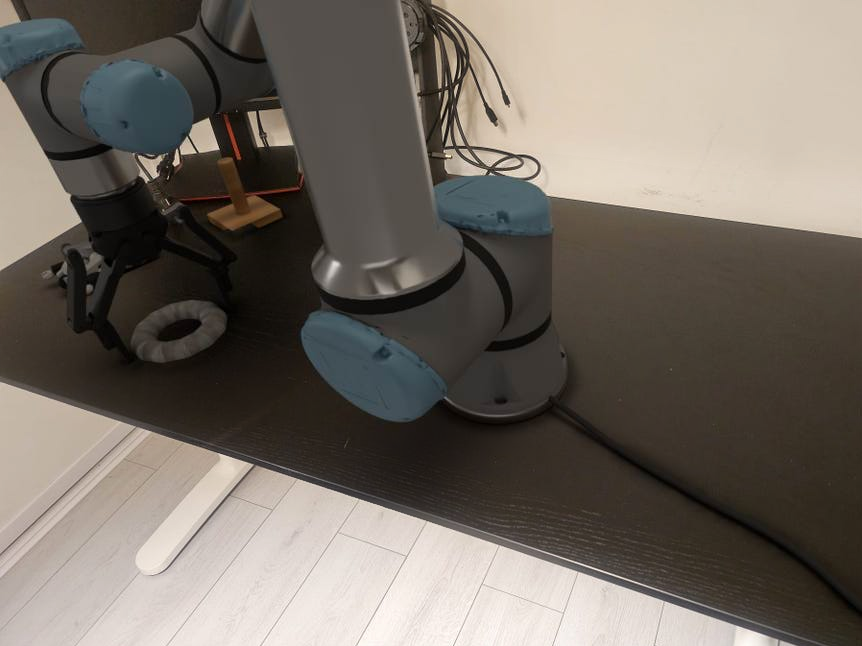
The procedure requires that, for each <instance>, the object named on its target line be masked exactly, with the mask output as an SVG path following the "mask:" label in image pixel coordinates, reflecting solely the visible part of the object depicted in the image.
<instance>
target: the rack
mask: <svg viewBox="0 0 862 646" xmlns="http://www.w3.org/2000/svg"><path fill="white" fill-rule="evenodd" d="M216 162H217V165H218V168H219V171H220V174H221V176H222V179H223V181H224V184H225V187H226V190H227V192H228V195H229V198H230V201H231V203H230V204H228V205H226V206H223V207H221V208H219V209H216V210H214V211H212V212H211V211H210V212H209V213H207V214H206V216H207V218H208V221H209V223H211V224H213V225H214V226H216V227H217V228H219V229H220V230H222V231H225V230H230V231H236V229H239V228H242V227H244V226H246V225H248V224H252V225H253V226H255V227H256V228H257V229H258V228H259V229H260V228H262V227H264V226H266V225H268V224H271V223H273V222H275V221H277V220H280V219H282V218H283V213H282V211H281V208H279V207H277V206H276V205H274V204H272V203H270V202H268V201H266V200H265V199H263V198H261V197H259V196H257V195H256V194H252V195H250V196H246V193H245V190H244V187H243V184H242V181H241V179H240V176H239V173H238V169H237V167H236V164H235V162H234V158H233V157H229V156H227V157H226V156H225V157H223V158H222V157H221V158H220V159H218V160H217V161H216Z"/></svg>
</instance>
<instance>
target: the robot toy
mask: <svg viewBox="0 0 862 646" xmlns="http://www.w3.org/2000/svg"><path fill="white" fill-rule="evenodd" d="M102 258H103V256H101V255H99V254H97V253H96V252H93V253H92V254H91V255H90V261H89V263H88V264H86V265H85V267H86V271H87V295H90V294H91V293H92V292H94V289H95V286H96V283H97V280H98V277H99V274H100V270H101V261H102ZM147 261H148V260H145V261H143V262H142V263H141V264H139V265H138V266H141V265H143V264H145V263H146V262H147ZM130 268H133V267H132V266H126V268H125V270H126V269H130ZM54 277H56V278H57V279H58V280H57V283H58V285H59V287H60V288H61V289H63V290H66V291H67V263H66V260H63V261H60V262H57V263H55V264H52V265H50V270H49V269H48V270H44V271H43V272H42V273H41V278H42V279H43V280H44V281H49V280H52V279H53V278H54Z"/></svg>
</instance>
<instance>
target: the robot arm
mask: <svg viewBox="0 0 862 646" xmlns="http://www.w3.org/2000/svg"><path fill="white" fill-rule="evenodd" d="M87 49H88V47H87V46H86V44H85V43H84V42H83V40H82V39H81V36H80V35H79V34H78V32H77V30H76V28H75V26H73V25H72V24H71V23H70V22H69V21H68V20H65V19H62V18H56V17H51V18H49V17H48V18H47V17H46V18H37V19H29V20H24V21H18V22H15V23H10V24H6V25H4V26H1V27H0V80H1V82H2V83H4V84H5V86H6V88H7V90H8V92H9V93H10V95H11V96H12V99H13V100H14V102H15V104H16V105H17V107H18V109H19V111H20V112H21V114H22V116H23V119H24V120H25V121H26V123H27V125H28V127H29V128H30V131H31V132H32V134H33V135H34V137H35V139H36V142H37V143H38V144H39V146H40V148H41V150H42V151H43V153H44V155H45V156H46V158H47V161H48V162H49V164H50V166H51V168H52V169H53V171H54V173H55V175H56V177H57V179H58V181H59V183H60V184H61V186H62V188H63V190H64V192H65V193H67V194H68V195H70V197H69V201H70V204H71V205H72V207H73V208H74V210H75V212H76V214H77V216H78V218H79V219H80V221H81V223H82V225H83V226H84V229H85V230H86V232H87V235H88V237H87V241H84V242H80V243H77V244H73V245H72V244H71V243H69V242H66V243H62V244H61V246H60V251H61V254H62V255H63V258H64V261H66V263H67V290H66V324H67V325H68V326H69V327H70V328H71V330H72V331H73V332H74V333H75V334H76V335H81V334H83V333H85V332H89V331H91V332H93V333H94V335H95V337H96V338H97V340H98V342H100V344H101V346H102V347H103V348H104V349H105V350H107V351H108V352H110V351H112V350H114V349H115V350H116V351H117V353H118V354H119V356H120V357H121V358H122V359H123V360H124V361H125V363H126V364H127V365H130V364H131V363H133V362H135V360H134V358H133V357H132V355H131V353H130V352H129V350H128V348H127V346H126V344H125V343H124V342H123V339H122V338H121V336H120V335H119V333H118V331H117V330H116V328H115V326H114V324H112V323H111V321H110V320H109V319H108V318H109V313H110V311H111V309H112V308H111V307H112V304H113V301H114V298H115V296H116V292H117V289H118V285H119V283H120V280H121V279H122V278H123V277H124V275H125V271H126V269H127V268H126V266H132V267H131V268H135V267H137V266H140V265H139V264H141V263H142V262H143V261H145V260H147V261H148V260H153V259H156V258H158V257H159V256H160V255H159V254H160V253H161V252H162V251H166V252H168V253H171V254H173V255H178V256H179V257H182V258H184V259H186V260H189V261H191V262H194V263H196V264H199V265H201V266H203V267H206V268H207V269H205V273H206V276H207V278H208V280H209V282H210V284H211V288H212V289H213V292H214V294H215V297H216V299H217V301H218V303H219V305H220V307H222V308H223V309H224V310H226V311H227V312H228V313H231V312H233V311H235V307H234V305H233V302H232V300H231V297H230V295H229V292H232V291H233V289H234V286H233V284H232V281H231V278H230V276H229V272H230V268H229V267H228V266H229V265H230V264H231V263H235V262H237V260H238V255H237V254H236V253H235V252H234V251H233V250H232V249H230V248H229V247H228V246H226V244H224V243H223V242H222V241H221V240H220V239H218V238H217V237H216V236H215V235H213V234H212V233H211V232H210V231H208V229H206V228H205V227H204V226H203V225H201V224H200V223H199V222H198V221H197V220H196V219H195V217H194V215H193V213H192V211H191V209H190V208H189V207H188V206H186V205H185V204H184V203H182V202H180V201H179V200H173V201H171V202H170V207H169V208H167V209H164V210H162V211H160V210H159V209H158V207H157V204H156V202H155V200H154V198H153V196H152V193H151V191H150V189H149V187H148V184H147V182H146V180H145V179H144V177H142V176H141V175H140V174H141V170H140V167H139V165H138V163H137V160H136V159H135V156H134V154H141V155H148V156H162V155H167V154H170V153H173V152H175V151H176V150H178V149H179V148H181V146H182V145H183V143H184V142H185V141H186V139H187V137H188V136H189V135H190V133H191V131H192V129H193V126H194V125H196V124H198V123H201V122H203V121H205V120H207V119H209V118H210V117H213V116H215V115H217V114H220V113H222V112H225V111H227V110H229V109H233V108H234V107H237V106H239V105H242V104H244V103H246V102H248V101H251V100H253V99H259V98H261V97H265V96H266V95H268V94H269V93H271V92H272V91H273V90H274V89H275V91H276V95H277V97H278V100H279V104H280V107H281V110H282V113H283V116H284V119H285V122H286V127H287V129H288V132H289V135H290V138H291V142H292V146H293V148H294V152H295V154H296V158H297V161H298V164H299V167H300V170H301V173H302V177H303V181H304V183H305V187H306V190H307V192H308V196H309V199H310V202H311V206H312V209H313V212H314V215H315V219H316V221H317V224H318V228H319V231H320V234H321V237H322V241H323V243H322V245H321V246H320V247H319V248H318V251H317V252H316V254H315V255H314V257H313V259H312V262H311V266H310V268H311V271H310V272H311V274H312V277H313V281H314V284H315V287H316V290H317V293H318V296H319V300H320V303H321V306H320V309H318V310H316V311H313V312H311V313H310V314H309V315H308V318H307V319H306V321H305V322H304V325H303V326H302V327H301V329H300V330H301V331H300V339H301V344H302V347H303V350H304V353H305V354H306V356H307V359H308V360H309V361H310V363H311V364H312V365H313V367H314V369H315V370H316V371H317V372H318V374H319V375H320V376H321V377H322V379H324V380H325V382H326V383H327V384H328V385H329V386H330V387H332V388H333V389H334V391H336V392H337V393H338V394H340V395H341V396H342V398H344V399H346V400H347V401H348V402H350V403H351V404H353V405H354V406H355V407H357V408H358V409H360V410H362V411H364V412H365V413H367V414H370V415H372V416H374V417H375V418H378V419H382V420H385V421H389V422H393V423H409V422H413V421H415V420H417V419H419V418H422V417H423V416H424V415H425V414H426V413H427V412H428V411H430V409H431V408H433V407H434V406H435V405H436V404H437V403H438V402H439V401H441V402H442V403H443V405H444V406H445V407H447V408H448V409H449V410H450V411H451V412H453V413H455V414H456V415H458V416H460V417H461V418H464V419H467V420H470V421H473V422H477V423H478V422H479V423H481V424H494V425H496V424H497V425H500V424H501V425H502V424H503V425H504V424H512V423H518V422H521V421H525V420H529V419H531V418H534V417H536V416H538V415H540V414H542V413H543V412H545V411H547V410H548V409H549V408H551V407H553V406H554V407H555V408H557V409H558V410H560V411H561V412H562V413H564V414H565V415H566V416H567V417H569V418H571V419H572V420H574V421H575V422H576V423H578V424H579V425H580V426H581V427H583V428H584V429H585V430H587V432H589V433H591V434H592V435H593V436H594V437H596V438H597V439H599V440H600V441H601V442H603V443H604V444H605V445H607V446H608V447H610V448H611V449H612V450H614V451H616V452H617V453H618V454H620V455H621V456H623V457H624V458H626V459H628V460H629V461H631V462H632V463H634V464H636V465H638V466H639V467H641V468H642V469H644V470H646V471H647V472H649V473H651V474H653V475H654V476H656V477H657V478H659V479H661V480H663V481H665V482H667V483H668V484H670V485H671V486H673V487H675V488H677V489H679V490H681V491H682V492H684V493H686V494H688V495H689V496H691V497H692V498H694V499H696V500H698V501H700V502H702V503H703V504H705V505H707V506H708V507H711V508H713V509H715V510H716V511H718V512H720V513H722V514H723V515H727V516H729V517H730V518H732V519H734V520H735V521H738V522H740V523H742V524H744V525H745V526H748V527H750V528H752V529H753V530H755V531H757V532H758V533H760V534H762V535H764V536H766V537H767V538H769V539H770V540H772V541H773V542H776V543H777V544H778V545H780V546H781V547H782V548H784V549H785V550H787V551H789V552H790V553H792V554H793V555H794V556H796V557H797V558H799V559H800V560H801V561H803V562H804V563H805V564H806V565H808V567H810V568H811V569H813V571H815V572H816V573H817V574H818V575H819V576H820V577H822V578H823V579H824V580H825V581H826V582H827V583H828V584H829V585H830V586H831V587H832V588H833V589H835V591H837V592H838V593H839V594H840V595H841V596H842V597H844V599H846V600H847V601H848V602H849V603H850V604H851V605H853V606H854V607H855V608H856V609H857V610H858V611H860V612H861V613H862V599H861V598H860V597H859V596H858V595H857V594H855V593H854V592H853V591H852V590H851V589H850V588H849V587H847V586H846V584H844V583H843V582H842V581H841V580H840V579H839V578H838V577H836V576H835V575H834V574H833V573H832V572H831V571H830V570H829V569H828V568H826V567H825V566H824V565H823V564H821V562H819V561H818V560H817V559H816V558H814V557H813V556H812V555H811V554H809V553H807V552H806V551H805V550H804V549H803V548H801V547H799V545H797V544H795V543H794V542H793V541H791V540H790V539H788V538H786V537H785V536H783V535H781V534H780V533H779V532H777V531H775V530H773V529H771V528H770V527H768V526H766V525H765V524H763V523H761V522H759V521H757V520H756V519H754V518H752V517H750V516H748V515H746V514H744V513H742V512H740V511H738V510H737V509H734V508H732V507H731V506H728V505H726V504H724V503H722V502H721V501H719V500H717V499H714V498H712V497H711V496H709V495H707V494H705V493H704V492H702V491H700V490H698V489H696V488H694V487H693V486H691V485H689V484H687V483H686V482H684V481H682V480H680V479H679V478H677V477H675V476H674V475H671V474H669V473H668V472H666V471H664V470H662V469H661V468H659V467H657V466H655V465H654V464H652V463H650V462H649V461H647V460H645V459H644V458H642V457H640V456H638V455H637V454H635V453H633V452H632V451H630V450H629V449H628V448H626V447H624V446H623V445H621V444H619V443H618V442H616V441H615V440H614V439H612V438H611V437H609V436H608V435H606V434H605V433H604V432H602V431H601V430H600V429H598V428H597V427H596V426H594V425H593V424H592V423H591V422H589V421H588V420H587V419H586V418H584V417H583V416H581V415H580V414H578V413H577V412H576V411H575V410H573V409H572V408H570V407H569V406H567V405H566V404H565V403H563V402H562V401H560V400H559V399H560V398H561V396H562V395H563V393H564V391H565V389H566V387H567V383H568V373H569V370H568V369H569V363H568V358H567V353H566V351H565V348H564V346H563V344H562V342H561V340H560V337H559V334H558V331H557V328H556V326H555V323H554V321H553V319H552V318H553V317H552V310H553V309H552V307H553V305H552V304H553V303H552V302H553V243H554V242H553V239H554V238H553V235H554V234H553V233H554V232H555V225H554V224H553V217H552V215H553V214H552V213H553V212H552V203H551V200H550V197H549V196H548V195H547V194H546V192H544V191H543V190H542V189H541V188H540V187H539V186H537V185H536V184H534V183H532V182H530V181H527V180H525V179H521V178H517V177H512V176H506V175H499V174H497V175H496V174H495V175H494V174H475V175H466V176H465V175H464V176H460V177H455V178H450V179H447V180H444V181H442V182H439V183H438V184H436V185H434V184H433V177H432V173H431V172H432V171H431V166H430V159H429V154H428V148H427V142H426V138H425V137H426V136H425V131H424V125H423V120H422V119H423V118H422V114H421V108H420V102H419V97H418V96H419V95H418V90H417V85H416V79H415V72H414V67H413V62H412V57H411V50H410V44H409V40H408V34H407V27H406V21H405V16H404V9H403V4H402V0H201V5H200V8H199V10H198V14H197V18H196V21H195V25H194V26H193V27H192V28H190V29H187V30H184V31H181V32H178V33H175V34H171V35H168V36H165V37H163V38H160V39H157V40H154V41H151V42H147V43H144V44H141V45H138V46H134V47H131V48H127V49H125V50H122V51H119V52H116V53H112V54H108V55H98V54H92V53H88V50H87ZM170 222H173V223H174V224H176V225H178V226H181V225H183V226H184V227H185V228H186V229H188V230H189V231H191V233H193V234H194V235H196V237H198V238H199V239H200V240H201V241H203V242H204V243H205V244H207V246H209V247H210V248H211V249H212V250H214V251H215V252H217V255H216V256H213V255H210V254H208V253H206V252H204V251H201V250H200V249H197V248H194V247H192V246H190V245H188V244H185V243H183V242H181V241H178V240H176V239H175V238H172V237H170V236H169V235H167V232H168V228H169V223H170ZM93 252H96V253H97V254H99V255H101V256H103V258H102V261H101V270H100V274H99V277H98V280H97V283H96V286H95V289H93V293H92V296H91V299H90V302H89V304H88V305H89V306H88V308H87V295H88V294H87V271H86V267H85V265H86V264H88V263H89V261H90V255H91V254H92V253H93ZM141 265H142V264H141ZM125 268H126V269H125Z"/></svg>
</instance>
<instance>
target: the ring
mask: <svg viewBox="0 0 862 646" xmlns="http://www.w3.org/2000/svg"><path fill="white" fill-rule="evenodd" d="M188 319H190V320H198V321H199V322H200V323H201V325H200V326H198V328H197V329H196V330H195V331H194V332H192V333H190V334H188V335H185V336H184V337H182V338H179V339H175V340H169V341H162V340H158V339H159V335H160V333H161V332H162V331H163V330H164V329H165V328H166V327H167V326H170V325H172V324H174V323H176V322H178V321H184V320H188ZM227 321H228V315H227V313H226V312H225V311H224V310H223V309H221V308H220V307H219V306H218V305H217V304H215V303H214V302H212V301H207V300H198V299H197V300H196V299H188V300H184V301H183V300H182V301H178V302H174V303H170V304H166V305H165V306H162V307H161V308H159V309H156V310H155V311H152V312H150V313H149V314H148V315H146V317H145V318H144V319H142V320H141V321H140V322H139V323H138V324H137V325H136V326H135V327H134V330H133V333H132V336H131V340H130V348H131V350H132V352H133V353H134V354H135V355H136V357H138V359H140V360H141V361H146V362H153V363H158V364H159V363H160V364H164V363H168V362H173V361H179V360H183V359H187V358H190V357H192V356H194V355H196V354H197V353H200V352H201V351H204V350H206V349H208V348H209V347H211V346H212V345H214V344H215V342H217V340H218V339H219V338H220V337H221V336H222V335H223V334H224V333H225V332H226V330H227Z"/></svg>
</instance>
